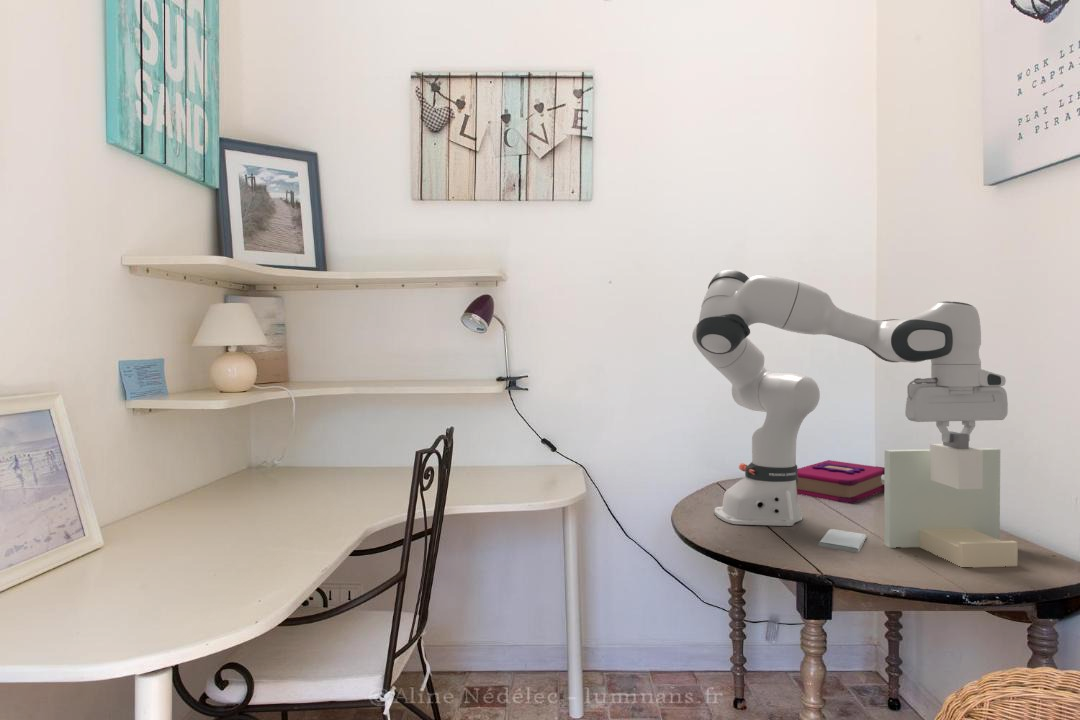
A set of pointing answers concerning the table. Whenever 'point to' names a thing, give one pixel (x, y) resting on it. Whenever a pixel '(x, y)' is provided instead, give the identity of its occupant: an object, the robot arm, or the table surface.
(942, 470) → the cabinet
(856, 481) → the book
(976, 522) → the board
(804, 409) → the robot arm
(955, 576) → the table surface
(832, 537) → the hard drive
